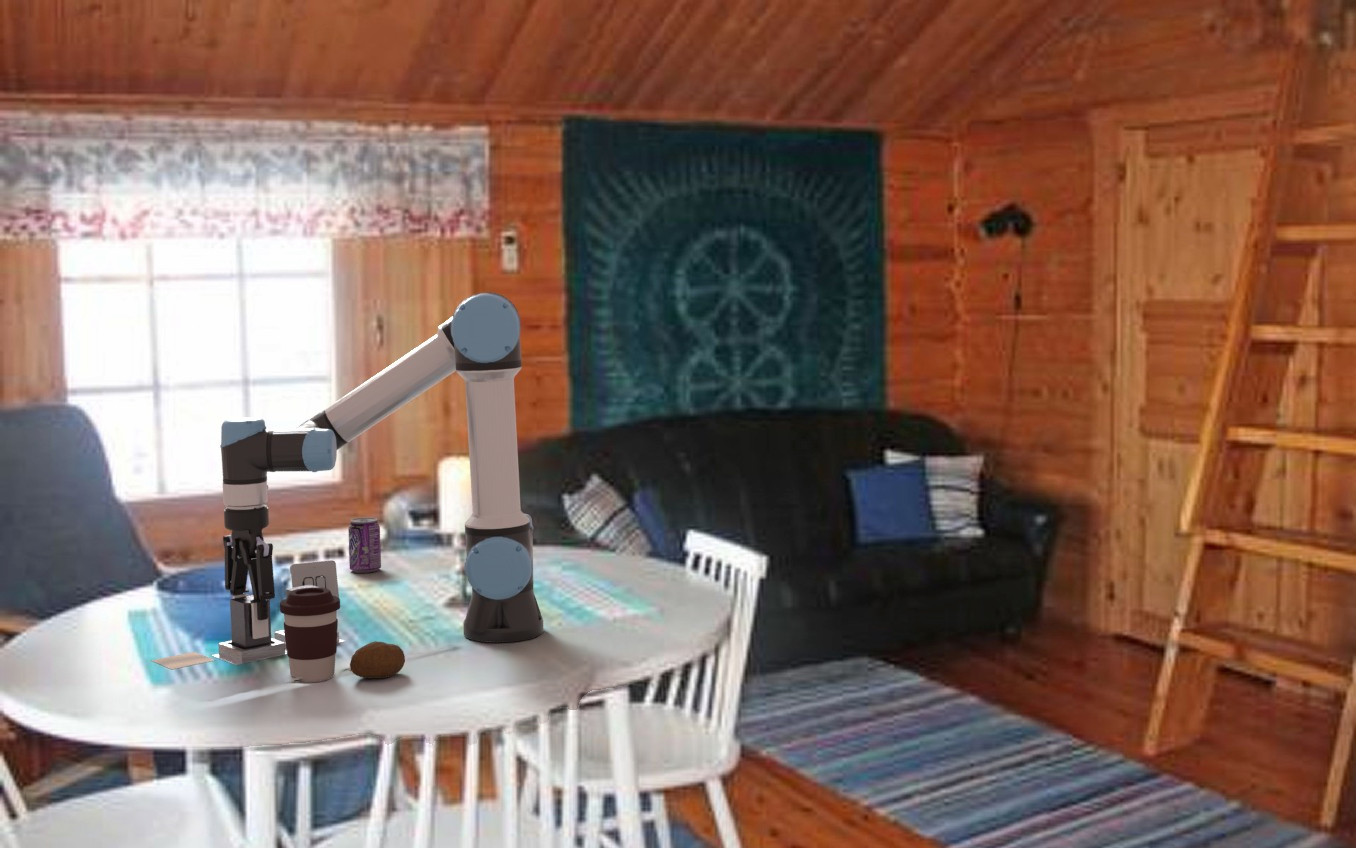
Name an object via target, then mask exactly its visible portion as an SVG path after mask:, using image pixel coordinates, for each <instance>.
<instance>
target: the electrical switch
mask: <svg viewBox="0 0 1356 848" xmlns="http://www.w3.org/2000/svg"><path fill="white" fill-rule="evenodd" d="M337 573H338V572H337V564H336V561H335V560H332V559H331V560H323V561H322V560H321V561H311V562H300V563H292V564H291V565H290V566H289V574H290V575H291V576H290V578H291V588H294V587H300V586H305V585H313V586H316V587H320V588H326V589H329V590H330V591H331V593H332V595H333V596H336V597H338V598H340V593H339V583H338V574H337Z"/></svg>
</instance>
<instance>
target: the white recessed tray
mask: <svg viewBox="0 0 1356 848" xmlns="http://www.w3.org/2000/svg"><path fill="white" fill-rule="evenodd" d="M273 634H274V638H272V637H271V643H272V644H269V645H264V646H260V647H255V648H250V649H245V650H243V649H241V648H238V647H235V646H232V640H228V641H222V642H218V653H216V654H212V655H211V657H214V658H217V659H219V660H221V661H224V662H227V663H229V664H232V665H234V666H239V665H242V664H243V665H244V664H248V663H251V662H252V663H253V662H257V661H262V660H267V659H272V658H276V657H279V656H280V657H281V656H285V655H287V651H286V641H285V632H284V629H282V630H278V631H274V633H273ZM345 642H346V640H345V639H341V638H340V631H339V630H337V644H341V643H345Z"/></svg>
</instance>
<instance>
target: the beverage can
mask: <svg viewBox="0 0 1356 848" xmlns="http://www.w3.org/2000/svg"><path fill="white" fill-rule="evenodd" d="M347 531H348V555H349V556H348V558H349V559H348V561H349V569H350V570H351V571H352V572H354V573H357V574H370V573H374V572H377V571H378V570H379V569H381V568H382V555H381V554H382V553H381V550H382V549H381V526H380V524H379V522H378V518H376V517H365V516H364V517H355V518H352V519H350V524H349V526H348V530H347Z"/></svg>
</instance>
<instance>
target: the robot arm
mask: <svg viewBox="0 0 1356 848" xmlns="http://www.w3.org/2000/svg"><path fill="white" fill-rule="evenodd" d="M521 324H522V323H521V317H520V314H519V311H518V309H517V307H516V306H515V304H514V303H513V302H512V301H511V300H510V299H508V298H507V297H506V296H503V295H501V294H499V293H496V292H481V293H475V294H473V295H470V296H468V297H467V298H465V299H464V300H463V301H462V302H461V303H459V305H457V307H456V309H455V311H454V313H453V315H452V316H451V317H450V318H449V319H447V320H446V321H445V322H443V323H441V324H440V325H439V326H438V329H437V333H436V334H435V335H433V336H432V337H430V338H429V339H427V340H426V341H424V342H423V343H421V344H420V345H419V346H417V347H415V348H414V349H412V350H411V351H409V352H408V353H406V354H405V355H404V356H402V357H401V358H398V360H396V361H395V362H393V363H391V364H390V365H389V366H387V367H386V368H384V369H383V370H381V371H380V372H378V373H377V374H375V375H374V376H372V377H371V378H369V379H368V380H366V381H365V382H363V383H362V384H360V385H359V386H357V387H356V388H355V389H353V390H351V391H350V392H348V393H347V394H346V395H344V396H342V397H341V398H340V399H337V401H335V402H333V403H332V404H331V405H329V406H327V407H326V408H325V409H324V410H321V412H318V413H317V414H316V415H314V416H312V417H311V418H310V419H307V420H306V421H304V422H303V423H302V424H301V423H300V425H298V426H297V427H296V428H290V429H289V428H287V429H286V428H285V429H284V428H283V429H271V428H267V426H266V422H265V420H264V419H263V418H261V417H236V418H229V419H226V420H224V421H223V423H222V424H221V427H220V428H221V431H220V432H221V433H220V434H221V435H220V437H221V438H220V439H221V441H220V451H221V467H222V499H223V500H222V501H223V505H224V506H225V508H224V509H223V519H224V528H225V529H227V530H228V531H231V534H229V535H223V536H222V543H223V547H224V589H225V590H226V591H228V590H229V593H230V595H231V596H232V599H234V598H239V597H245V596H250V594H249V592H250V589H248V588H247V584H248V583H247V581H248V577H249V580H250V585H251V591H252V595H253V597H254V600H250V602H251V608H252V633H253V639H258V638H262V637H267V636H269V628H268V600H270V601H271V600H272V599H275V597H276V592H275V591H276V590H275V580H274V565H273V551H274V550H273V549H274V546H273V543H272V542H269V543H266V542H265V541H264V540H265V539H264V534H263V529H265V528H267V527H268V526H269V524H270V521H269V520H270V517H269V507H268V505H267V504H266V503H268V502H269V501H268V489H269V484H268V473H269V472H270V473H275V472H312V473H317V472H323V471H325V472H326V471H331V470H333V469H334V468H335V466H336V462H337V456H338V455H337V453H338V451H339V449H342V448H343V447H344V446H346V445H347V444H348V443H349V442H351V441H353V440H354V439H355V438H357V437H359V436H360V435H361V434H363V433H364V432H367V431H368V430H369V429H371V428H373V426H375V425H376V424H378V423H380V422H381V421H383V420H385V419H386V418H387V417H388V416H390V415H392V414H393V413H395V412H396V411H398V410H399V409H401V408H403V407H404V406H405V405H406V404H408V403H410V402H411V401H412V400H414V399H417V397H419V396H421V395H422V394H423V393H425V392H427V391H428V390H429V389H431V388H433V386H435V385H437V384H439V383H440V382H441V381H443V380H444V379H447V377H449V376H450V375H452V374H453V373H455V372H456V373H457V374H458V375H459V376H460V377H461V378H462V379H463V380H464V382H465V383H464V384H465V385H464V386H465V402H466V403H465V404H466V420H467V437H468V455H469V456H468V457H469V471H470V472H469V473H470V475H469V476H470V489H471V490H470V491H471V507H472V510H471V511H472V514H471V515H470V516H469V517H468V518H467V519H466V521H465V522H464V533H465V535H464V536H465V553H466V554H465V555H466V558H465V562H464V575H465V577H466V578H467V582H468V583H469V584H470V587H471V595H470V596H471V597H470V600H469V604H468V607H467V612H466V615H465V619H464V621H463V635H464V637H465V638H466V639H469V640H472V641H475V642H476V641H477V642H485V643H513V642H514V643H515V642H520V641H526V640H530V639H534V638H537V637H539V636H541V635H543V633H544V618H543V615H542V614H541V610H540V607H539V604H538V601H537V599H536V596H535V592H534V589H535V588H534V549H533V548H534V547H533V546H534V545H533V544H534V543H533V541H534V540H533V531H534V525H533V520H532V517H531V515H530V514H527V513H524V512H523V511H522V510H521V509H522V508H521V492H520V491H521V489H520V472H519V470H520V469H519V453H518V436H517V435H518V432H517V415H516V413H517V412H516V395H515V380H514V379H515V378H516V376H517V375H518V373H519V372H520V371H522V367H523V365H522V347H521V346H522V345H521V344H522V343H521V327H522V326H521ZM248 575H249V576H248Z"/></svg>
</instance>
